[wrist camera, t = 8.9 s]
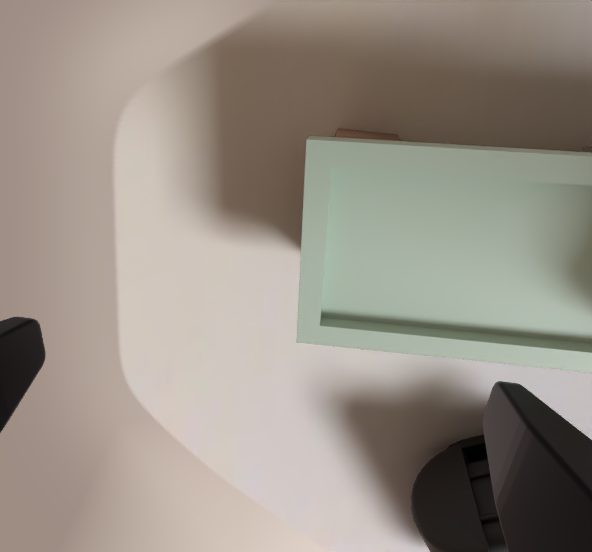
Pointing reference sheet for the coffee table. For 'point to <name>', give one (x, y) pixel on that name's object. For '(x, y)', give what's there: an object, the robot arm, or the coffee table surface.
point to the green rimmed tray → (448, 251)
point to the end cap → (458, 501)
